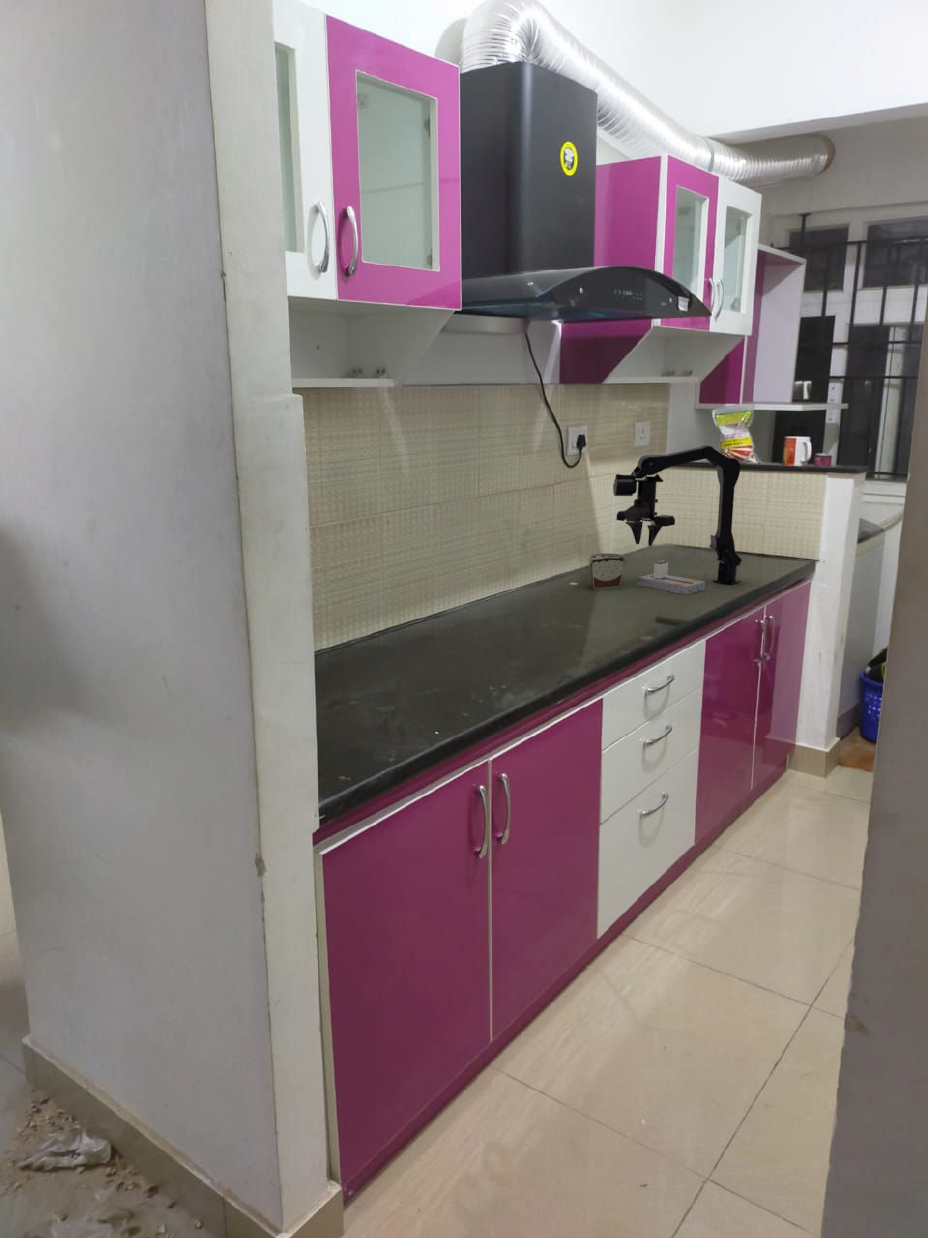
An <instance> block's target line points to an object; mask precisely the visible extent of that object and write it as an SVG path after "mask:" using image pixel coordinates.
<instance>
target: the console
mask: <svg viewBox="0 0 928 1238" xmlns="http://www.w3.org/2000/svg"><path fill="white" fill-rule="evenodd" d="M637 586H639V587H640V586H641V587H645V588H651V589H655V590H659V591H664V592H666V591H667V592H670V593H671V592H672V593H676V594H681V595H687V596H688V595H691V594H695V593H698V592H702V591H704V590H705V589H706V588H705V586H706V582H705V581H702V580H699V579H698V580H697V579H692V578H687V577H680V576H676V575H669V574H667V577H665V578H661V579H659V578H654V573H651V574H647V575H641V576H639V577H638V578H637Z"/></svg>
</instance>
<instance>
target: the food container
mask: <svg viewBox="0 0 928 1238" xmlns="http://www.w3.org/2000/svg"><path fill="white" fill-rule="evenodd" d="M626 562H627V559H626V556H625V555H623V554H619V553H613V552H612V553H611V552H609V553H606V552H603V553H602V552H601V553H594V554H590V555H589V558H588V564H589V565H590V578H591V579H590V581H591V589H593V590H598V589H599V590H600V589H612V588H613V589H615V588H621V585H622V579H623V578H622V577H623V571H624V565H625V563H626Z"/></svg>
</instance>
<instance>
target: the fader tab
mask: <svg viewBox="0 0 928 1238" xmlns="http://www.w3.org/2000/svg"><path fill="white" fill-rule="evenodd" d="M653 565H654V566H653V568H654V569H653V574H654V578H659V579H661V578H665V577H667V575H668V572H669V571H668V569H669V563H668V562H667V560H663V559H662V560H657V561H656V562H655V563H654V564H653Z"/></svg>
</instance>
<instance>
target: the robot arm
mask: <svg viewBox="0 0 928 1238" xmlns="http://www.w3.org/2000/svg"><path fill="white" fill-rule="evenodd" d="M702 460H707V461H708V462H709V463H710V464H711V465H713V466H715V467H716V475H717V480H718V483H719V498H718V499H719V500H718V514H717V526H716V527H717V529H716V532H715V534H714V535H713V534H711V535H710V545H709V548H710V549H711V553H712V554H713V555H714V556H715V557H716V561H718V569H717V578H715V579H713V580H712V582H713V583H714V582H715V583H720V584H725V585H733V584H736V583H740V582H742V581H741V579H737V576H738V575H737V574H738V566H740V565H741V562H742V558H741V557H740V556H739V555H738V554H737V553H736V549H735V540H734V535H733V533H732V528H733V516H734V515H733V514H734V502H735V501H734V498H735V487H736V485H737V482H738V480H739V477H740V473H741V468H742V465H741V462H740V461H739V460H738V459H737V458H735V457H731V456H726V455H725V454H723V453H721V452H719V451H718V450H717V449H715V448H714V447H713V446H711V445H708V444H704V445H702V446H698V447H693V448H690V449H684V450H680V451H676V452H672V453H667V454H646V455H643V456H640V458H639V460H638V461H637V466H636V467H635V468H634V470H633V471H632V472H631V473H630V474H620V473H616V474H615V476H614V480H613V484H612V485H613V486H612V490H613V491H612V492H613V495H614V497H632V496H633V495H634V494H636V495H637V496H636V497H637V498H636V499H635V498H634V501H633V505H631V506H629V507H628V508H627V509H625V510H619V511H618V512H617V513H616V519H615V520H616V521H621V522H625V524H626V525H628V527H630V529H631V531H632V534H633V538H634V541H635V545H640V542H641V538H642V537H641V536H642V529H643V523H644V522H649V523H650V524H649V525H647V526H646V527H647V529H648V541H647V542H648V547H652V545H653V543H654V542H655V540H656V538H657V536H658V534H659V532H660V530H661V529H662V528H663V527H670V526H675V525H676V519H675V517H674V515H668V514H660V515H658V512H657V511H656V503H659V499H658V498H656V497H657V483H664V479H663V478H661V476H660V474H658V473H661V472H663V471H665V470H666V469H668V468H670V467H676V466H679V465H683V464H688V463H693V462H699V461H702ZM653 475H654V476H653ZM625 520H626V521H625Z"/></svg>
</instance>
